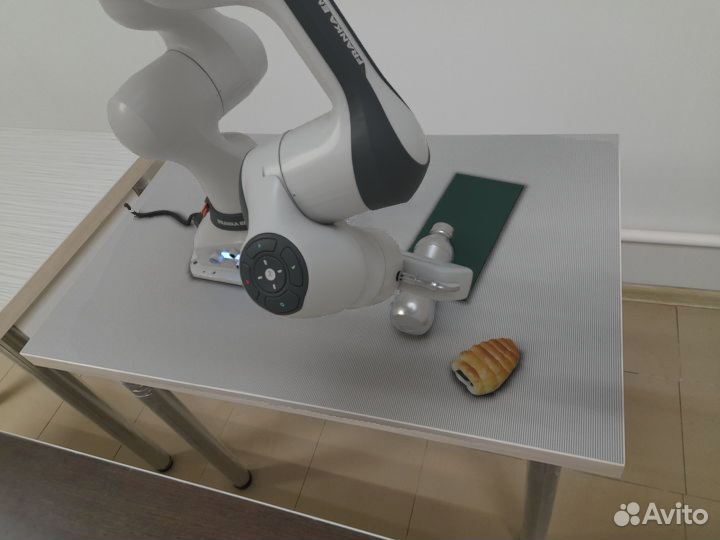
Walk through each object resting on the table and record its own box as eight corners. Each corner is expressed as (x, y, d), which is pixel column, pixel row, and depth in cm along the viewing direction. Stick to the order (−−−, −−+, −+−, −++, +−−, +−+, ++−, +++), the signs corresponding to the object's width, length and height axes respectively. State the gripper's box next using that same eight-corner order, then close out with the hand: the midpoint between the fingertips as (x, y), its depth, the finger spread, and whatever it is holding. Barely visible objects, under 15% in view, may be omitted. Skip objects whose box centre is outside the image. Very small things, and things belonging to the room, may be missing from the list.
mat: (465, 301, 81) (465, 299, 81) (391, 279, 87) (391, 278, 87) (523, 186, 96) (523, 185, 95) (456, 174, 101) (456, 173, 101)
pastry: (497, 334, 76) (497, 319, 74) (532, 365, 72) (533, 350, 69) (447, 370, 74) (445, 356, 71) (480, 405, 70) (479, 391, 67)
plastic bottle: (428, 321, 73) (464, 220, 84) (382, 310, 75) (423, 212, 86) (429, 344, 78) (463, 246, 89) (386, 333, 80) (424, 238, 91)
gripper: (456, 261, 52) (492, 257, 64) (292, 218, 61) (351, 222, 73) (442, 321, 53) (480, 306, 65) (283, 271, 62) (342, 266, 74)
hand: (410, 261), depth 69 cm, fingers closed
